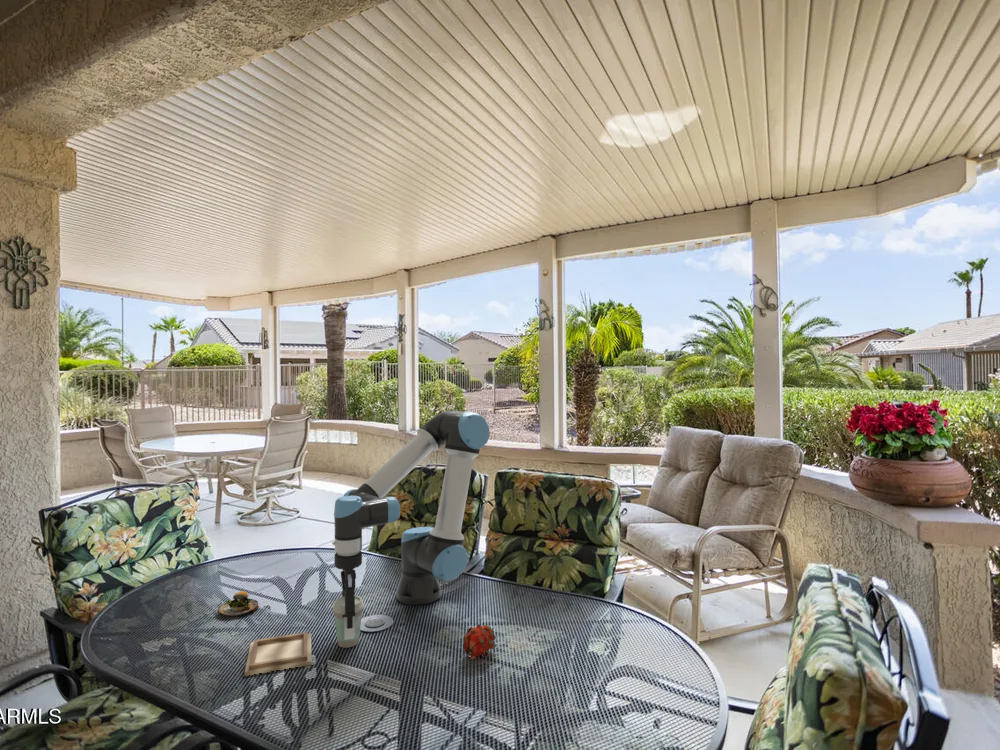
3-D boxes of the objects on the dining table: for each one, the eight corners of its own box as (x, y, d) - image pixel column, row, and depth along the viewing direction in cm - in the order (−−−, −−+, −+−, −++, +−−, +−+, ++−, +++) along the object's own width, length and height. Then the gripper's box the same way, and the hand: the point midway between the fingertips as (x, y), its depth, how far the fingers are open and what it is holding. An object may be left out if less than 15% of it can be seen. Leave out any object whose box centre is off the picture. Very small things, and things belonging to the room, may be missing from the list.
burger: (209, 615, 172) (209, 592, 172) (240, 601, 183) (239, 579, 183) (237, 622, 167) (237, 598, 167) (267, 607, 178) (267, 584, 178)
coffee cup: (355, 651, 150) (355, 608, 149) (327, 648, 151) (326, 605, 151) (368, 636, 158) (368, 595, 158) (341, 633, 160) (341, 593, 160)
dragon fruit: (493, 650, 153) (471, 677, 143) (470, 628, 156) (448, 654, 145) (507, 632, 150) (486, 658, 140) (484, 610, 153) (462, 634, 142)
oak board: (311, 636, 158) (311, 630, 158) (311, 665, 143) (311, 657, 143) (251, 646, 153) (250, 639, 153) (244, 676, 138) (244, 668, 137)
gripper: (332, 541, 163) (333, 616, 163) (336, 566, 143) (336, 651, 143) (358, 539, 166) (358, 613, 166) (365, 562, 146) (365, 646, 146)
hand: (348, 630), depth 155 cm, fingers closed on coffee cup, 9 cm apart
